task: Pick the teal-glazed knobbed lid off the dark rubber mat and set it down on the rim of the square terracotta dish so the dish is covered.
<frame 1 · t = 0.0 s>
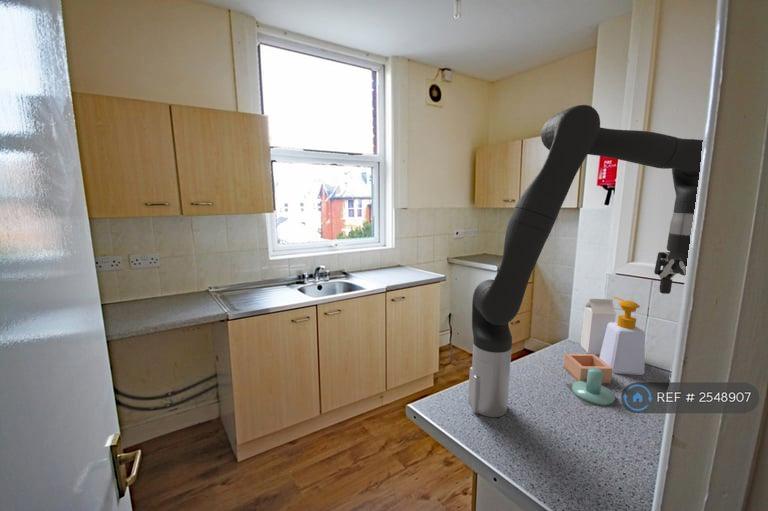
hand: (679, 298, 83), 29 cm above the countertop, fingers open, 8 cm apart
milk carton: (594, 351, 119), on the countertop
dish: (585, 376, 103), on the countertop
mat: (592, 395, 93), on the countertop
lid: (592, 394, 93), resting on mat
soap bottle: (616, 365, 110), on the countertop
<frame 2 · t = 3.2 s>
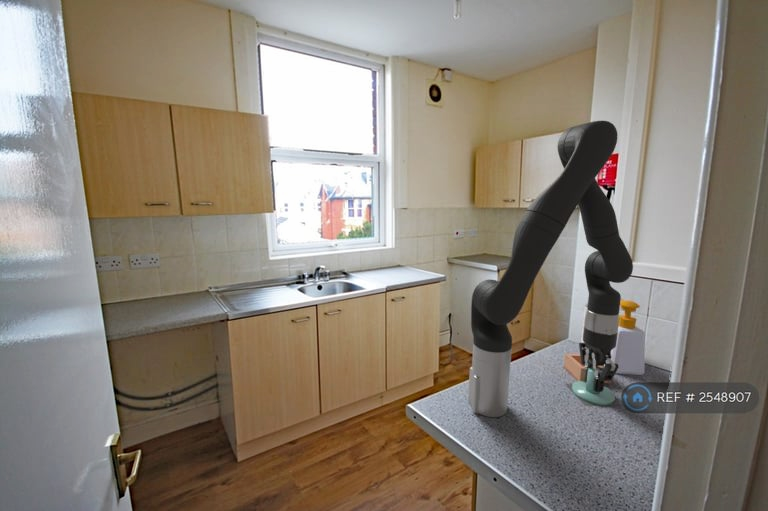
hand: (593, 386, 92), 3 cm above the countertop, fingers closed on lid, 3 cm apart
lid: (592, 394, 93), resting on mat, touching gripper
everything else where it was.
when the fingers open (8 cm above the countertop, at t = 7.0 s): lid stays where it is, resting on dish.
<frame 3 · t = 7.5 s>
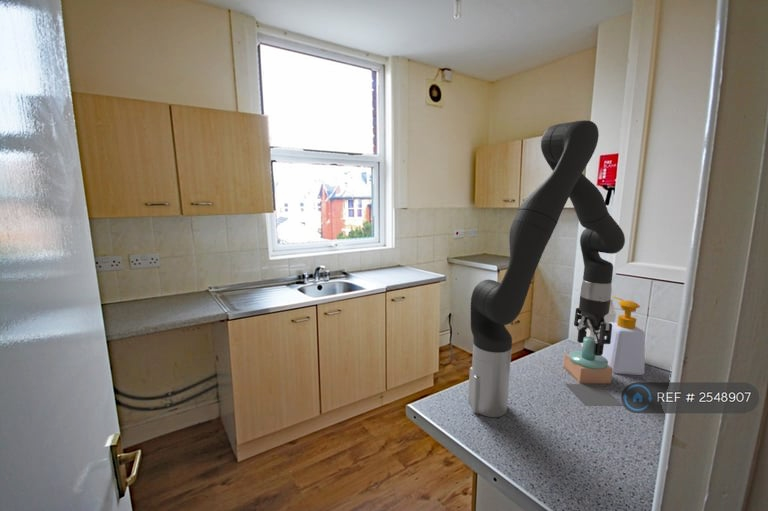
hand: (589, 348, 101), 9 cm above the countertop, fingers open, 8 cm apart
lid: (587, 360, 102), point 5 cm above the countertop, touching dish
everything else where it was.
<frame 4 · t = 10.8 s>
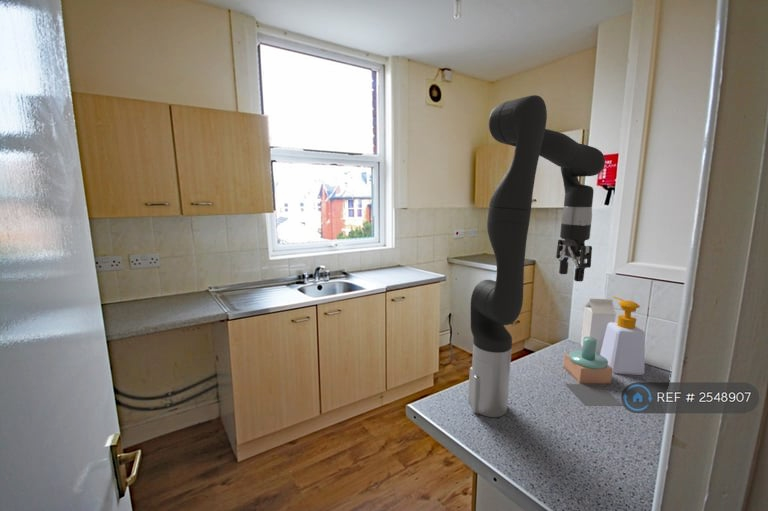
hand: (570, 277, 100), 30 cm above the countertop, fingers open, 8 cm apart
nothing on the countertop moved.
at the end: lid 0.0 cm off-centre on the dish, point 5.0 cm above the dish's base; lid tilted 0°; the gripper is holding nothing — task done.
